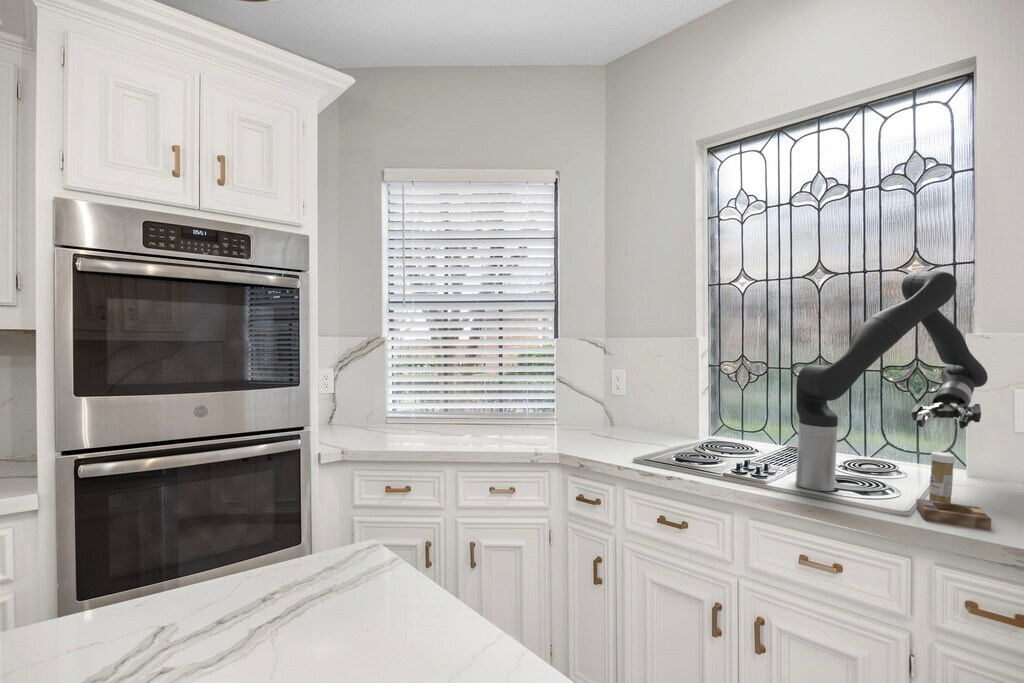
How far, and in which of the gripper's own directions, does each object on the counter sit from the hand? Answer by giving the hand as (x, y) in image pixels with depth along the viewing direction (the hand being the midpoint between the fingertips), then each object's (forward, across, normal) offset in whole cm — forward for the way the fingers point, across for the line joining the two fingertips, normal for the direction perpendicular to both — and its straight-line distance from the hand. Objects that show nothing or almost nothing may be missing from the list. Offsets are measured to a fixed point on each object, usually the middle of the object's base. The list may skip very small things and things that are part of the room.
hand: (940, 424), depth 143 cm
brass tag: (+19, +8, +12) cm, 24 cm away
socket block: (+22, +4, +14) cm, 26 cm away
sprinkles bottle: (+14, 0, +16) cm, 21 cm away
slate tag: (+22, 0, +10) cm, 24 cm away
